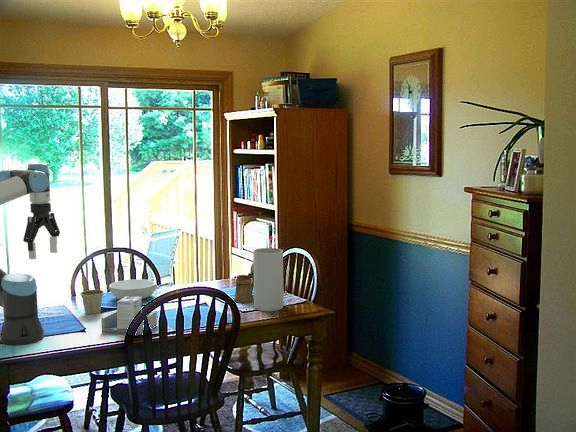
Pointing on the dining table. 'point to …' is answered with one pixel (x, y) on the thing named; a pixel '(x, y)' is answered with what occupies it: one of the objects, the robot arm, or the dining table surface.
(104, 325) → the end holder
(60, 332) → the dining table surface
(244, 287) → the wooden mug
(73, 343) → the dining table surface
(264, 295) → the cylinder vase
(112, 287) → the serving bowl
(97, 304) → the flower pot
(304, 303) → the dining table surface
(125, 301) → the light bulb box
